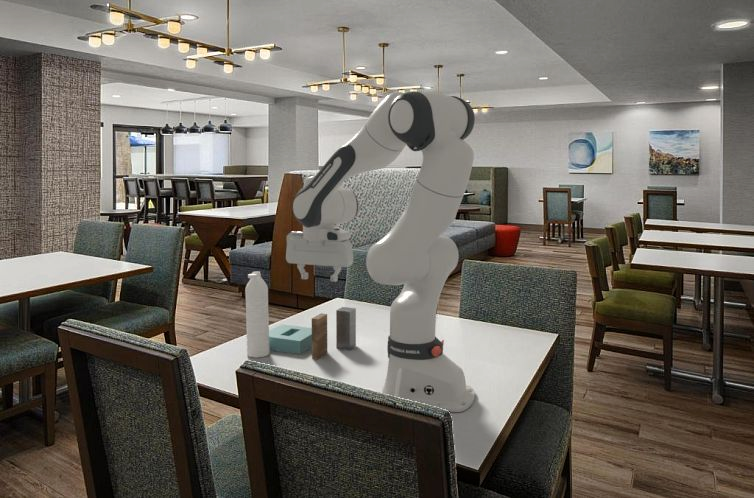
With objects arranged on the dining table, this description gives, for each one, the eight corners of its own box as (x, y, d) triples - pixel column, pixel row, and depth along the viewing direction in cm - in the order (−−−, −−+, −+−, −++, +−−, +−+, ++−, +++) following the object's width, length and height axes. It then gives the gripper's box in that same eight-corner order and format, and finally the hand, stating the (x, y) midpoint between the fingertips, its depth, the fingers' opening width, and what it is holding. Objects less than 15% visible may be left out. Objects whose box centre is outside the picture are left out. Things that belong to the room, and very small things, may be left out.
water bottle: (250, 350, 163) (247, 269, 159) (271, 350, 162) (269, 269, 159) (242, 360, 154) (239, 275, 150) (265, 361, 154) (262, 275, 150)
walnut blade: (327, 352, 161) (327, 314, 159) (318, 359, 155) (317, 319, 154) (321, 352, 162) (321, 313, 160) (312, 358, 156) (311, 318, 154)
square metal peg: (355, 345, 168) (355, 308, 166) (349, 350, 164) (349, 311, 162) (342, 343, 169) (342, 306, 167) (336, 348, 165) (336, 310, 163)
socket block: (320, 341, 172) (320, 329, 171) (300, 354, 160) (300, 341, 159) (282, 335, 177) (281, 324, 176) (259, 348, 165) (259, 335, 164)
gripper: (281, 232, 154) (282, 279, 156) (346, 235, 147) (346, 285, 149) (292, 229, 160) (293, 275, 162) (355, 232, 152) (355, 280, 154)
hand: (319, 280), depth 155 cm, fingers open, 8 cm apart
